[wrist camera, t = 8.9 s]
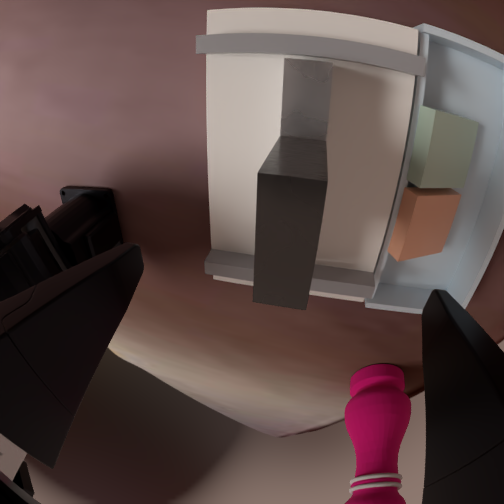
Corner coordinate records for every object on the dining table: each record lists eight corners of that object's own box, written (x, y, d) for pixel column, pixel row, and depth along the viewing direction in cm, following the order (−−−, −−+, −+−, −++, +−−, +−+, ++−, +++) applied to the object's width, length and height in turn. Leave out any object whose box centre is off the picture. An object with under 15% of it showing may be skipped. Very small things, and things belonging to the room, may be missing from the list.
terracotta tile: (387, 250, 18) (397, 261, 18) (404, 187, 16) (417, 196, 15) (431, 242, 20) (441, 252, 19) (449, 187, 17) (461, 195, 16)
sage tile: (406, 179, 16) (419, 188, 15) (420, 104, 13) (435, 109, 12) (451, 180, 17) (463, 188, 16) (464, 116, 14) (478, 122, 13)
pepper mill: (417, 378, 29) (420, 544, 13) (366, 399, 33) (354, 550, 17) (389, 351, 27) (387, 550, 11) (333, 376, 31) (310, 551, 15)
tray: (362, 281, 23) (365, 312, 20) (409, 29, 12) (426, 22, 10) (446, 292, 22) (457, 322, 19) (511, 68, 11) (539, 73, 8)
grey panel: (277, 256, 20) (250, 356, 13) (291, 60, 13) (261, 50, 7) (307, 260, 19) (294, 363, 13) (330, 64, 13) (340, 57, 6)
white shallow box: (224, 256, 25) (206, 292, 21) (224, 17, 15) (196, 5, 11) (360, 276, 23) (364, 316, 19) (404, 35, 13) (427, 26, 9)
